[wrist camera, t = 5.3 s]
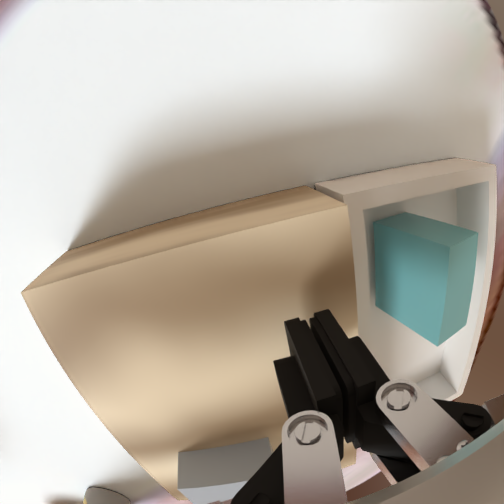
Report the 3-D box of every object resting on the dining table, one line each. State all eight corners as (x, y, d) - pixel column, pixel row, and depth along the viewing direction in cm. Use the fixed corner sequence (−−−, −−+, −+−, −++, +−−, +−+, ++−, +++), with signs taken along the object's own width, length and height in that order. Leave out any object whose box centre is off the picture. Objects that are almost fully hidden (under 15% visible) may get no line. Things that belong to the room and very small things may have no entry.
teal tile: (449, 247, 10) (478, 232, 11) (373, 221, 15) (405, 211, 15) (437, 346, 12) (466, 325, 12) (375, 305, 16) (405, 291, 17)
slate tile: (178, 452, 14) (177, 489, 11) (268, 437, 14) (276, 474, 11) (207, 487, 15) (209, 517, 13) (282, 474, 16) (289, 504, 13)
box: (314, 183, 15) (342, 194, 12) (456, 157, 15) (495, 164, 12) (340, 414, 21) (355, 446, 18) (441, 370, 22) (462, 394, 18)
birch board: (66, 251, 14) (20, 292, 10) (305, 185, 15) (347, 205, 10) (178, 450, 21) (177, 500, 16) (334, 416, 21) (355, 463, 16)
